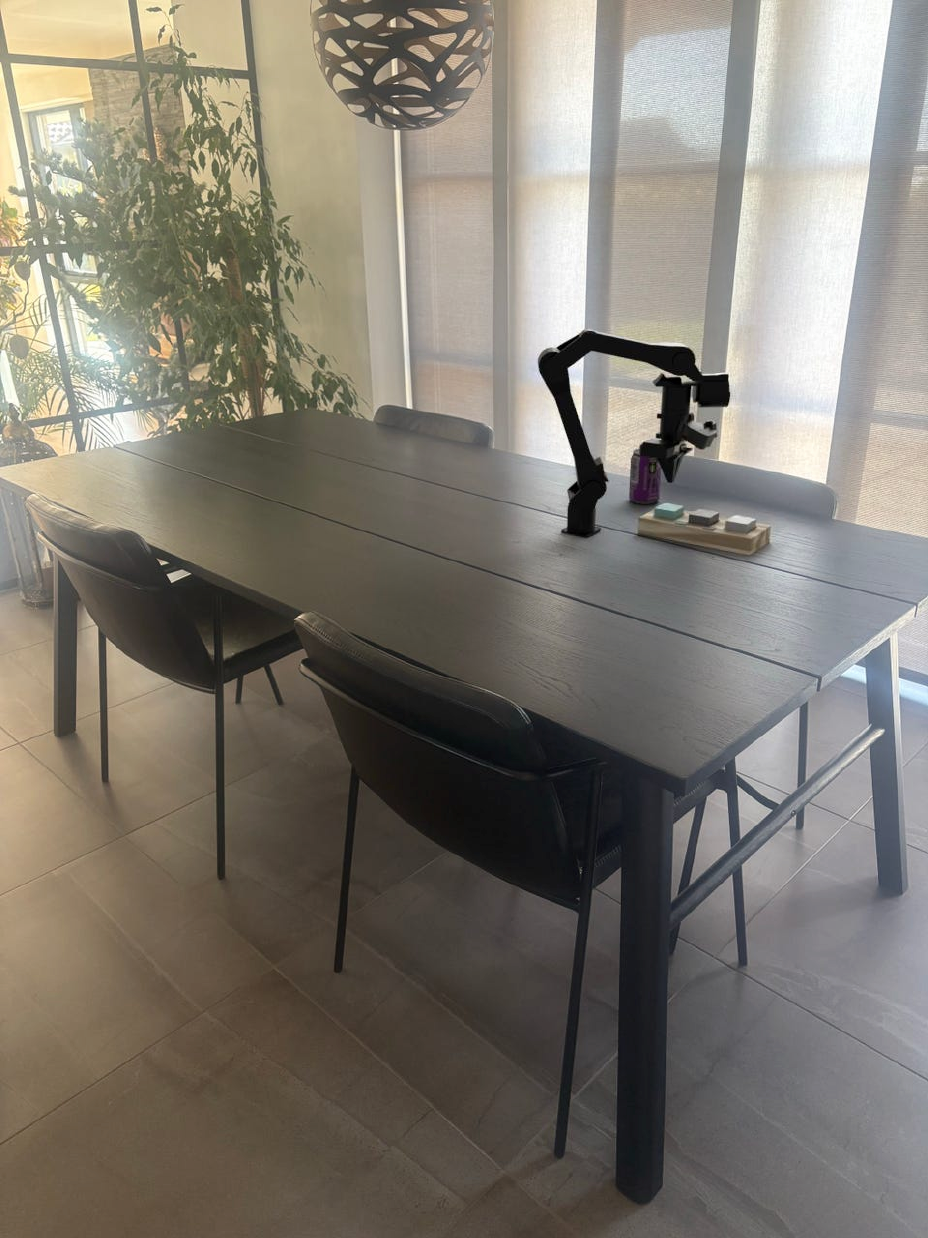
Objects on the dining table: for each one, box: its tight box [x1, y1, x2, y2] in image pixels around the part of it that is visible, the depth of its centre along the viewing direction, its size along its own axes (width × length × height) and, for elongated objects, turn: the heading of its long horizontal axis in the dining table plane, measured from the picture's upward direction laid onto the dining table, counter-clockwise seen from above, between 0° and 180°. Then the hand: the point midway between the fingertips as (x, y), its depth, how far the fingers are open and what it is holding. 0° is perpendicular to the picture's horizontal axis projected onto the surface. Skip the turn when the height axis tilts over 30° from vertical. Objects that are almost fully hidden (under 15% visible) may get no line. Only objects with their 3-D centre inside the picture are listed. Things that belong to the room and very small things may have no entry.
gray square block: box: [688, 508, 720, 527], centre depth 194 cm, size 5×5×3 cm
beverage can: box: [628, 448, 662, 505], centre depth 219 cm, size 7×7×12 cm
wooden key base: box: [637, 509, 772, 556], centre depth 195 cm, size 10×25×4 cm, turn 51°
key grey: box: [725, 514, 757, 534], centre depth 189 cm, size 5×5×3 cm
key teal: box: [653, 502, 685, 520], centre depth 199 cm, size 5×5×3 cm
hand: (670, 482), depth 196 cm, fingers closed
